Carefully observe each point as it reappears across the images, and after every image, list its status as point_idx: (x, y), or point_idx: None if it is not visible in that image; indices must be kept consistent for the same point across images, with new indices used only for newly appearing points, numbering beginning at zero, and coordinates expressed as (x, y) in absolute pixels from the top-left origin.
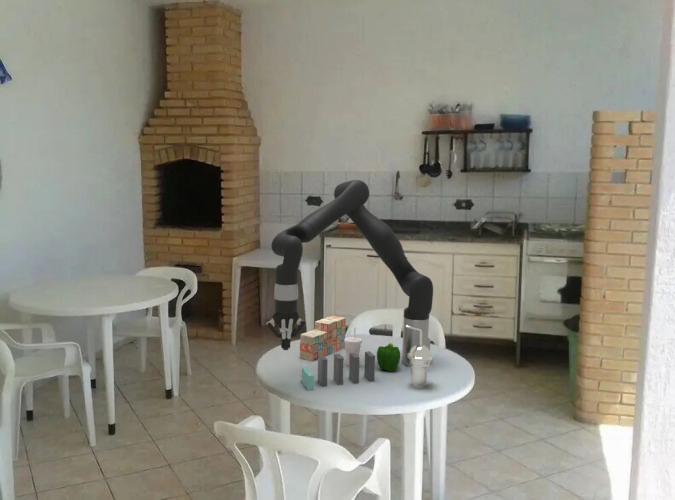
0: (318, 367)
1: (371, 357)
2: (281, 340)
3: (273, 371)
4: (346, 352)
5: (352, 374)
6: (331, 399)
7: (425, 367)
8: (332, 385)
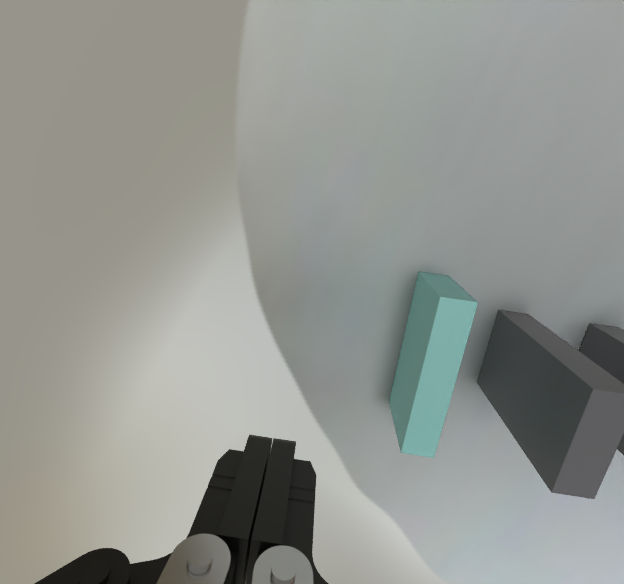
0: (536, 356)
1: None
2: (200, 528)
3: (326, 37)
4: None
5: None
6: (434, 519)
7: None
8: None
